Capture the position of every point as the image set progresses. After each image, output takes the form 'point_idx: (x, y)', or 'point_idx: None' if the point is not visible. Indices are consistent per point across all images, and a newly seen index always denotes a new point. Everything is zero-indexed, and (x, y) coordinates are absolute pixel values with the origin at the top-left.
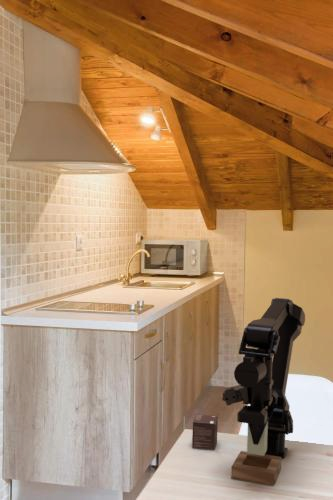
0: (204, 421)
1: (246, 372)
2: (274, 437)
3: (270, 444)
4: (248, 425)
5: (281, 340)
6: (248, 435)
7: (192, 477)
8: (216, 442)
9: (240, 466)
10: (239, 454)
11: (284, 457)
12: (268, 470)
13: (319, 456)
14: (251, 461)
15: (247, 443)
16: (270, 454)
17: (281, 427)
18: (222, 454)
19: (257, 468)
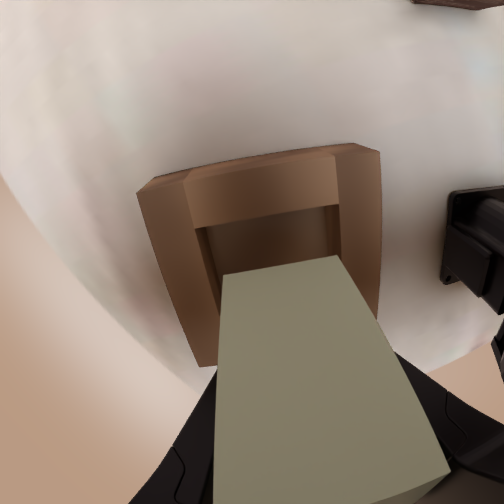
0: None
1: None
2: (491, 290)
3: (470, 264)
4: (214, 469)
5: None
6: (220, 377)
7: (78, 40)
8: (465, 7)
9: (166, 234)
10: (326, 160)
11: (446, 281)
12: (210, 346)
13: (465, 342)
14: (330, 216)
15: (220, 320)
16: (446, 244)
17: (501, 359)
18: (395, 41)
19: (199, 307)
